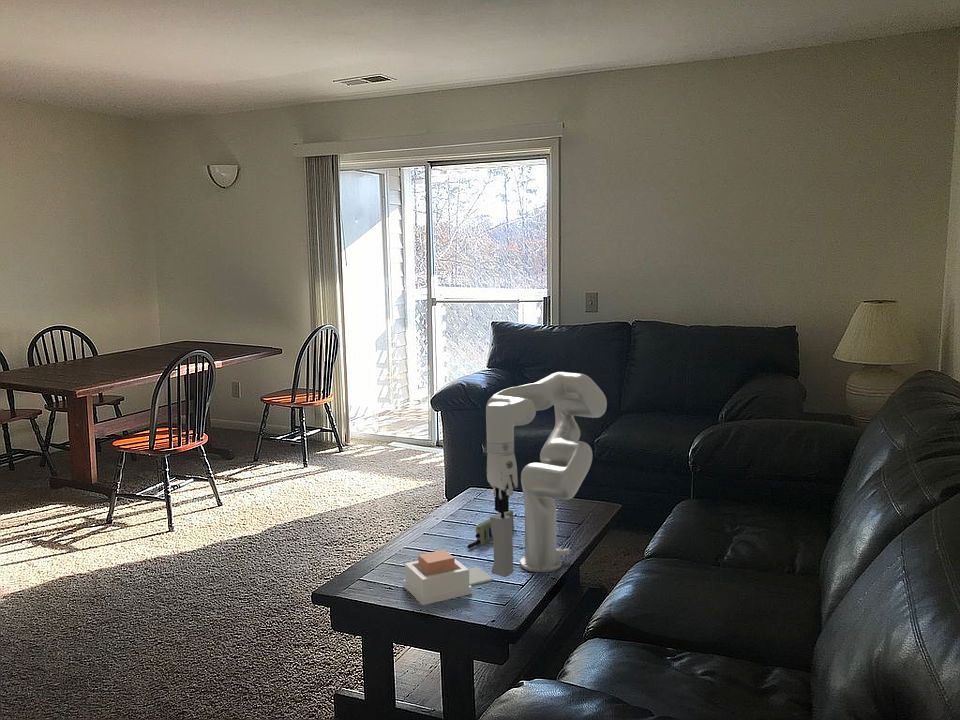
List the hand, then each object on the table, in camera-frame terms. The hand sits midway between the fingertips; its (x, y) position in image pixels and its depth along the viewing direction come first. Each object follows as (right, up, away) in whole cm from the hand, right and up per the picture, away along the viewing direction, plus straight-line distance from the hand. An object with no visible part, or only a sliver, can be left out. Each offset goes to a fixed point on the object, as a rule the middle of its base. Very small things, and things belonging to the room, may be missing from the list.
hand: (501, 510), depth 223 cm
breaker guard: (-18, -23, +3) cm, 30 cm away
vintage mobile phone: (0, -19, +3) cm, 19 cm away
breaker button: (-18, -16, +3) cm, 25 cm away
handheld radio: (-2, -18, +44) cm, 47 cm away
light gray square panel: (-9, -22, +12) cm, 26 cm away
